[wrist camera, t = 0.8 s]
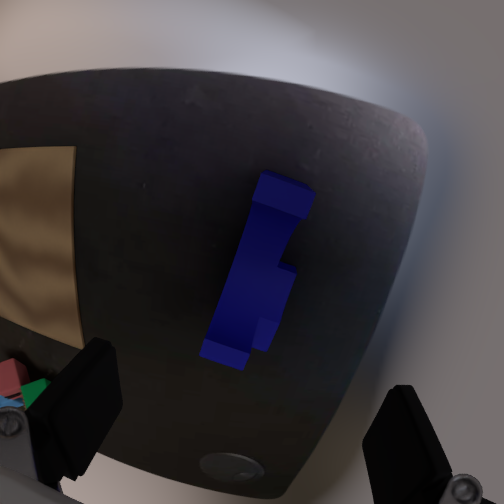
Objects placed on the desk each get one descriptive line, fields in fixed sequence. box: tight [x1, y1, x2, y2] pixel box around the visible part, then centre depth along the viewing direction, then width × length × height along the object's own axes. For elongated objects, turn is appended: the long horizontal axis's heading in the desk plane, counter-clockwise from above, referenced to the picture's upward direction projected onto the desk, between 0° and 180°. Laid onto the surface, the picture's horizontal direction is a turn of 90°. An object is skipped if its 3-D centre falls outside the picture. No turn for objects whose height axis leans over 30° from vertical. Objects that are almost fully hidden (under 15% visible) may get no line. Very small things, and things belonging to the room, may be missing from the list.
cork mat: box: [0, 146, 85, 349], centre depth 25 cm, size 20×20×1 cm
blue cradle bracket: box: [199, 170, 316, 371], centre depth 20 cm, size 12×4×6 cm, turn 161°
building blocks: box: [0, 358, 51, 410], centre depth 28 cm, size 8×8×12 cm
